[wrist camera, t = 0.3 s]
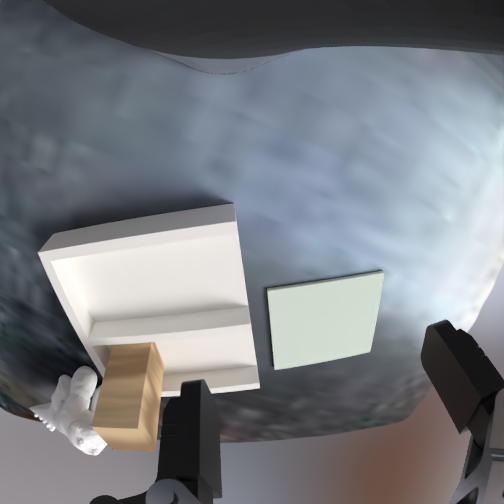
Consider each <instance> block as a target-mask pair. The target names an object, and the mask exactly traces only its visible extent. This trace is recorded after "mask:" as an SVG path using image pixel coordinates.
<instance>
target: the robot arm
mask: <svg viewBox="0 0 504 504" xmlns="http://www.w3.org/2000/svg"><path fill="white" fill-rule="evenodd" d="M44 1H45V2H46V3H48V4H49V5H50V6H52V7H53V8H55V9H56V10H57V11H59V12H60V13H62V14H63V15H65V16H66V17H68V18H70V19H72V20H74V21H75V22H77V23H79V24H81V25H83V26H86V27H88V28H90V29H92V30H95V31H97V32H99V33H102V34H104V35H107V36H110V37H113V38H115V39H118V40H121V41H124V42H127V43H130V44H133V45H135V46H139V47H142V48H145V49H147V50H150V51H153V52H155V53H158V54H160V55H163V56H166V57H168V58H171V59H174V60H176V61H178V62H181V63H183V64H185V65H187V66H190V67H192V68H195V69H197V70H199V71H201V72H205V73H211V74H213V73H214V74H234V73H240V72H244V71H247V70H250V69H253V68H255V67H257V66H259V65H262V64H264V63H267V62H270V61H273V60H275V59H278V58H281V57H284V56H287V55H289V54H292V53H295V52H298V51H301V50H304V49H309V48H321V47H339V46H389V47H411V48H428V49H441V50H454V51H464V52H476V53H485V54H495V55H504V0H44ZM421 361H422V365H423V368H424V370H425V371H426V373H427V375H428V377H429V378H430V380H431V382H432V384H433V385H434V387H435V389H436V391H437V392H438V394H439V396H440V398H441V400H442V402H443V403H444V405H445V407H446V409H447V411H448V413H449V415H450V416H451V418H452V420H453V422H454V424H455V426H456V428H457V430H458V432H459V434H462V433H464V432H466V431H468V430H470V432H471V434H472V435H471V438H470V441H469V446H468V451H467V455H466V459H465V463H464V467H463V471H462V475H461V478H460V482H459V484H458V486H457V488H456V489H455V491H454V493H453V495H452V497H451V500H450V503H449V504H504V380H503V378H502V377H501V375H500V374H499V372H498V371H497V370H496V368H495V367H494V365H493V364H492V363H491V361H490V360H489V358H488V357H487V356H485V353H484V352H483V350H482V349H481V348H479V345H478V344H477V342H476V341H475V340H474V339H473V337H472V336H471V335H469V334H468V333H466V332H465V331H463V330H462V329H459V330H456V329H455V328H454V327H453V325H452V324H451V323H450V322H449V321H448V320H443V321H440V322H437V323H434V324H432V325H429V326H428V327H427V329H426V334H425V338H424V343H423V347H422V351H421ZM162 425H163V426H162V430H161V435H162V437H161V440H160V451H159V463H158V474H157V478H156V481H155V483H154V484H153V485H152V486H151V487H150V488H149V489H148V490H147V491H146V492H144V493H142V494H139V495H136V496H132V497H128V498H124V499H120V500H117V499H116V498H114V497H112V496H108V495H102V496H98V497H96V498H94V499H93V500H92V501H91V502H90V504H213V498H222V486H221V485H222V484H221V458H220V428H219V412H218V408H217V404H216V402H215V400H214V398H213V396H212V394H211V392H210V390H209V388H208V386H207V384H206V382H205V380H204V379H199V380H191V381H184V382H182V384H181V390H180V397H177V398H170V400H169V402H168V404H167V405H166V407H165V409H164V412H163V421H162Z"/></svg>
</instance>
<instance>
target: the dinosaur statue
mask: <svg viewBox="0 0 504 504" xmlns="http://www.w3.org/2000/svg"><path fill="white" fill-rule="evenodd" d="M96 384H97V375H96V373H95V372H94V370H93V369H92V368H91V367H88V366H82V367H80V368H78V370H77V371H76V372H75V373H74V375H73V378H71V377H70V376H68V375H62V376H60V377H59V382H58V385H57V388H56V391H55V392H54V393H53V395H52V397H51V400H52V403H46V404H43V405H38V406H34V407H30V408H29V409H30V410H32V411H33V412H34V413H35V415H34V416H35V417H38V416H39V419H40V420H42V419H43V423H46V422H47V423H46V427H47V428H49V427H50V431H53V430H54V429H55V428H56V429H58V430H59V431H60V432H61V433H63V434H64V435H66V436H67V437H68V438H69V440H70V442H71V443H72V444H73V445H74V446H75V447H77V448H78V449H80V450H81V451H83V452H84V453H86V454H89V455H98V454H99V453H100V452H101V451H102V449H103V448H104V447H105V446H106V445H107V443H106V442H105V441H104V440H103V439H102V438H101V437H100V436H99V435H98V434H97V432H96V431H95V430H94V429H93V428H92V427H91V426H92V421H93V417H94V413H95V408H96V404H97V400H98V396H99V392H100V389H101V386H99V387H98V388H97V389H96V390H95V388H96ZM94 390H95V392H94ZM93 392H94V395H93ZM92 395H93V399H92V407H91V411H90V410H88V408H89V404H90V398H91V396H92Z"/></svg>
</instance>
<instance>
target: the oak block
mask: <svg viewBox="0 0 504 504" xmlns="http://www.w3.org/2000/svg"><path fill="white" fill-rule="evenodd" d="M163 373H164V363H163V360H162V358H161V356H160V354H159V351H158V349H157V347H156V344H155V342H148V343H134V344H117V345H113V346H112V349H111V352H110V356H109V359H108V363H107V366H106V370H105V374H104V377H103V381H102V385H101V389H100V392H99V396H98V400H97V404H96V408H95V413H94V417H93V421H92V426H91V427H92V428H93V429H94V430H95V431H96V432H97V434H98V435H99V436H100V437H101V438H102V439H103V440H104V441H105V442H106V443H107V444H108V445H109V446H110V447H111V448H112V449H116V450H137V451H155V450H156V439H157V428H158V418H159V408H160V399H161V390H162V381H163Z"/></svg>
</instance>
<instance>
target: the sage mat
mask: <svg viewBox="0 0 504 504" xmlns="http://www.w3.org/2000/svg"><path fill="white" fill-rule="evenodd" d="M383 279H384V271H377V272H371V273H365V274H359V275H353V276H347V277H341V278H334V279H328V280H321V281H315V282H308V283H302V284H295V285H288V286H281V287H274V288H267V293H268V304H269V315H270V326H271V337H272V348H273V359H274V369H275V370H278V369H284V368H290V367H296V366H302V365H308V364H314V363H319V362H324V361H330V360H335V359H340V358H345V357H349V356H354V355H359V354H363V353H367V352H370V350H371V345H372V340H373V336H374V331H375V326H376V320H377V315H378V310H379V304H380V298H381V292H382V286H383Z"/></svg>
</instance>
